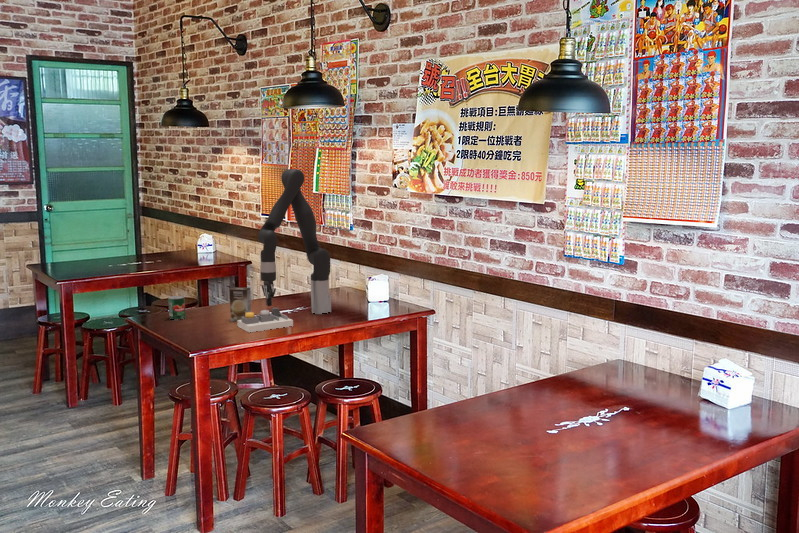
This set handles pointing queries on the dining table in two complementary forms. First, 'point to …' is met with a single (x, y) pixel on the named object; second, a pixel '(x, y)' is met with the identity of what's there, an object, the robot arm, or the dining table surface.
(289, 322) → the control panel
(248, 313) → the amber button
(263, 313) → the grey switch
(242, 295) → the coffee box
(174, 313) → the canned tomato
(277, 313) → the dark grey cube
